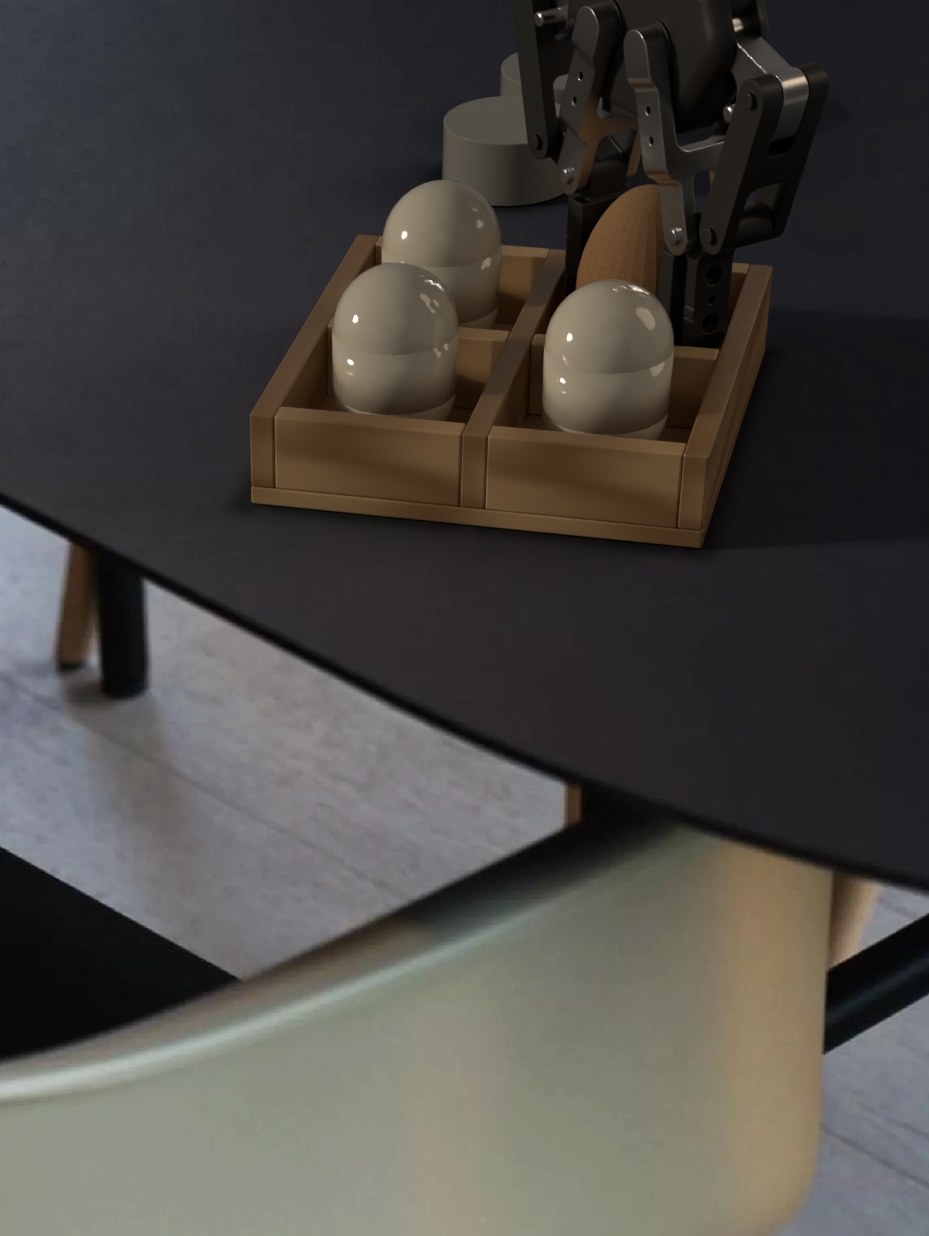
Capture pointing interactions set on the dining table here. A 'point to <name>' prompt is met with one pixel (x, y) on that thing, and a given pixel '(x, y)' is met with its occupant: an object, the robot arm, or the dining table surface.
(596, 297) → the cream egg
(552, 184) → the grey short cylinder
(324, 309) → the egg tray
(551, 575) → the dining table surface
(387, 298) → the cream egg
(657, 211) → the egg
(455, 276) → the cream egg
